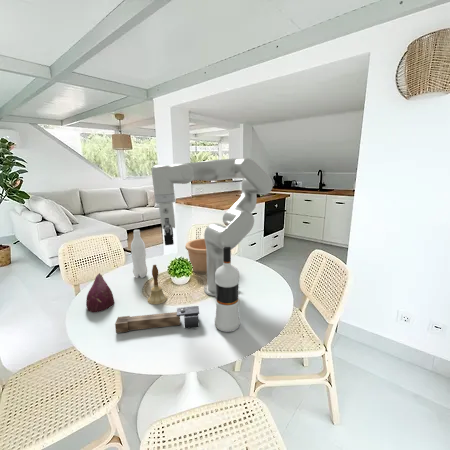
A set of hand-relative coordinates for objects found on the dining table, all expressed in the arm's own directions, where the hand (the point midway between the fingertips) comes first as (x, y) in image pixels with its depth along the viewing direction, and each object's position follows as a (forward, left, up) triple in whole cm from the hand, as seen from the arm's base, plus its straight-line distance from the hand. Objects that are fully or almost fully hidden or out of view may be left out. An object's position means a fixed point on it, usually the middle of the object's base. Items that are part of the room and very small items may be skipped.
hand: (169, 240), depth 101 cm
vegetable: (+30, -3, -28) cm, 41 cm away
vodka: (-20, +19, -28) cm, 39 cm away
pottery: (-17, -35, -28) cm, 48 cm away
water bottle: (+18, -30, -28) cm, 45 cm away
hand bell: (+7, -4, -28) cm, 29 cm away
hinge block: (-6, +15, -28) cm, 32 cm away
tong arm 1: (+8, +16, -27) cm, 33 cm away
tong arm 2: (+8, +14, -27) cm, 32 cm away
